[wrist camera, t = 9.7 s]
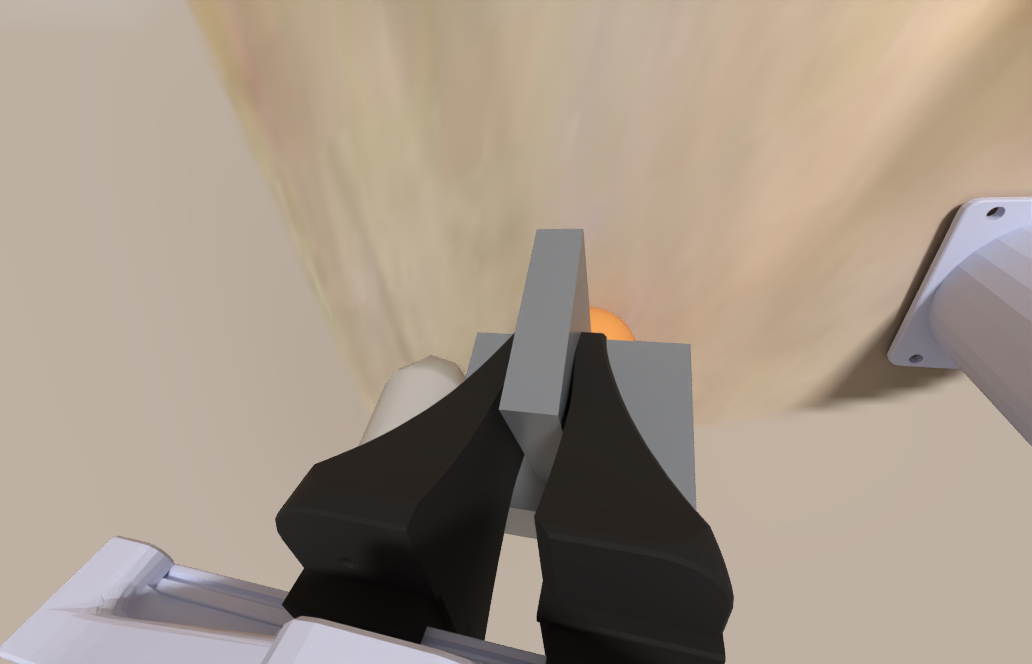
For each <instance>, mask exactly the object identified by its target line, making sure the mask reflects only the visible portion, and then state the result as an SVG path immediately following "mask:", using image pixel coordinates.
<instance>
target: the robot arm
mask: <svg viewBox="0 0 1032 664" xmlns="http://www.w3.org/2000/svg"><path fill="white" fill-rule="evenodd" d="M995 207H998V210H997V211H996V212H995V213H994V214H992V215H991V216H986V215H987V213H988V212H989V211H990V210H991V209H993V208H995ZM514 335H515V333H514V334H513V335H512V336H511V337H510V338H509V339H508V340H507V341H506V342H505V343H504V344H503V345H502V346H501V347H500V348H499V349H498V350H497V351H496V352H495V353H494V354H493V355H492V356H491V357H490V358H489V359H488V360H487V361H486V362H485V363H484V364H483V365H482V366H481V367H479V368H478V369H477V370H476V371H475V372H474V373H473V374H472V375H471V376H469V377H468V378H467V379H466V380H465V381H464V382H462V383H461V384H460V385H459V386H458V387H457V388H455V389H454V390H453V391H452V392H450V393H449V394H448V395H446V396H445V397H444V398H442V399H441V400H439V401H438V402H436V403H435V404H434V405H432V406H431V407H429V408H428V409H426V410H425V411H423V412H421V413H420V414H418V415H416V416H415V417H413V418H411V419H410V420H408V421H406V422H405V423H403V424H401V425H400V426H398V427H396V428H394V429H393V430H391V431H389V432H387V433H385V434H383V435H381V436H379V437H377V438H375V439H373V440H371V441H369V442H367V443H365V444H363V445H360V446H358V447H356V448H354V449H352V450H349V451H346V452H344V453H342V454H339V455H337V456H334V457H332V458H329V459H327V460H325V461H322V462H319V463H317V464H315V465H314V466H313V467H312V468H311V469H310V471H309V472H308V473H307V475H306V476H305V477H304V479H303V480H302V481H301V483H300V484H299V485H298V487H297V488H296V489H295V491H294V492H293V493H292V495H291V496H290V497H289V499H288V500H287V502H286V503H285V504H284V505H283V507H282V508H281V509H280V511H279V512H278V514H277V516H276V518H275V521H276V527H277V531H278V533H279V535H280V536H281V538H282V540H283V541H284V542H285V544H286V545H287V546H288V547H289V549H290V550H291V551H292V553H293V554H294V555H295V557H296V558H297V559H298V561H299V562H300V563H301V564H302V566H303V567H304V570H303V571H302V573H301V574H300V576H299V577H298V579H297V581H296V582H295V584H294V585H293V587H292V589H291V590H290V592H287V591H283V590H279V589H275V588H271V587H267V586H263V585H259V584H255V583H251V582H247V581H243V580H239V579H235V578H231V577H227V576H223V575H219V574H215V573H211V572H207V571H203V570H199V569H195V568H191V567H187V566H183V565H179V564H175V563H174V562H173V560H172V558H171V557H170V556H169V555H167V553H165V552H164V551H163V550H161V549H160V548H158V547H156V546H155V545H152V544H150V543H147V542H143V541H138V540H134V539H130V538H125V537H122V536H116V537H113V538H112V539H111V540H110V541H109V542H107V544H106V545H104V546H103V547H102V549H100V550H99V551H98V552H97V553H96V554H95V555H94V556H93V557H92V558H91V559H90V560H89V561H88V562H87V563H86V564H85V565H84V566H83V567H82V568H81V569H80V570H79V571H78V572H77V573H76V574H74V576H73V577H72V578H70V579H69V580H68V581H67V582H66V583H65V584H64V585H63V586H62V587H61V588H60V589H59V590H58V591H57V592H56V593H55V594H54V595H53V596H52V597H51V598H50V599H49V600H48V601H47V602H46V603H45V604H44V605H43V606H41V607H40V608H39V609H38V611H36V612H35V613H34V614H33V615H32V616H31V617H30V618H29V619H28V620H27V621H26V622H25V623H24V624H23V625H22V626H21V627H20V628H19V629H18V630H17V631H16V632H15V633H14V634H13V635H11V636H10V638H8V639H7V640H6V641H5V642H4V643H3V644H2V645H1V646H0V657H1V658H3V659H6V660H8V661H10V662H12V663H14V664H724V663H725V648H724V641H723V631H724V629H725V626H726V624H727V621H728V619H729V616H730V614H731V612H732V609H733V601H734V596H733V590H732V586H731V582H730V578H729V575H728V571H727V568H726V565H725V562H724V559H723V557H722V554H721V551H720V549H719V546H718V544H717V542H716V539H715V537H714V534H713V532H712V530H711V528H710V526H709V525H708V523H707V522H706V521H705V520H704V519H703V518H702V517H701V516H700V515H699V513H698V512H697V511H696V510H695V509H694V508H693V507H692V505H691V504H690V503H689V502H688V501H687V499H686V498H685V497H684V496H683V495H682V493H681V492H680V491H679V490H678V488H677V487H676V486H675V484H674V483H673V482H672V481H671V479H670V478H669V477H668V475H667V474H666V472H665V471H664V470H663V468H662V467H661V465H660V464H659V462H658V461H657V459H656V458H655V457H654V455H653V454H652V452H651V451H650V449H649V448H648V446H647V444H646V443H645V441H644V439H643V438H642V436H641V434H640V433H639V431H638V429H637V427H636V425H635V424H634V422H633V420H632V418H631V416H630V414H629V412H628V410H627V408H626V406H625V403H624V401H623V399H622V396H621V394H620V392H619V389H618V387H617V384H616V381H615V378H614V375H613V372H612V369H611V365H610V362H609V357H608V352H607V336H605V335H604V334H603V333H593V332H581V335H580V337H579V340H578V343H577V347H576V352H575V364H574V376H573V388H572V396H571V403H570V407H569V411H568V415H567V419H566V423H565V426H564V430H563V433H562V437H561V440H560V444H559V447H558V451H557V454H556V457H555V460H554V463H553V466H552V469H551V472H550V475H549V478H548V481H547V484H546V486H545V489H544V492H543V494H542V497H541V500H540V503H539V505H538V508H537V510H536V513H535V515H534V521H535V528H536V535H537V541H538V548H539V556H540V563H541V570H542V577H543V583H542V589H541V594H540V600H539V605H538V610H537V622H540V626H541V632H542V638H543V643H544V649H545V656H544V655H539V654H536V653H532V652H527V651H523V650H519V649H516V648H512V647H507V646H504V645H500V644H496V643H492V642H488V641H484V640H485V634H486V628H487V622H488V616H489V611H490V605H491V599H492V592H493V588H494V582H495V577H496V572H497V566H498V561H499V556H500V551H501V546H502V541H503V536H504V531H505V526H506V522H507V517H508V513H509V508H510V503H511V499H512V494H513V490H514V487H515V483H516V480H517V476H518V473H519V470H520V467H521V464H522V461H523V458H524V455H525V454H524V452H523V450H522V449H521V447H520V445H519V444H518V442H517V440H516V438H515V437H514V435H513V433H512V431H511V430H510V428H509V426H508V424H507V423H506V421H505V419H504V418H503V416H502V414H501V412H500V411H499V406H500V401H501V396H502V392H503V387H504V382H505V378H506V373H507V368H508V363H509V359H510V354H511V349H512V345H513V340H514ZM917 354H918V355H917ZM913 355H917V356H916V357H914V358H910V357H911V356H913ZM887 357H888V359H889V361H890V362H891V363H892V364H894V365H898V366H912V367H929V368H946V369H961V370H962V371H963V372H964V373H965V374H966V375H967V376H968V377H969V378H970V380H972V382H973V383H974V384H975V385H976V386H977V387H978V388H979V389H980V390H981V391H982V392H983V394H984V395H985V396H986V397H987V398H988V399H989V400H990V401H991V402H992V404H993V405H994V406H995V407H996V408H997V409H998V410H999V411H1000V412H1001V413H1002V414H1003V416H1004V417H1005V418H1006V419H1007V420H1008V421H1009V422H1010V423H1011V424H1012V425H1013V426H1014V428H1015V429H1016V430H1017V431H1018V432H1019V433H1020V434H1021V435H1022V436H1023V437H1024V438H1025V440H1026V441H1027V442H1028V443H1029V444H1030V445H1031V446H1032V197H988V198H975V199H972V200H970V201H967V202H966V203H965V204H963V205H962V206H961V207H960V208H959V210H958V211H957V213H956V215H955V217H954V219H953V221H952V223H951V226H950V228H949V230H948V232H947V234H946V236H945V238H944V240H943V242H942V244H941V246H940V248H939V250H938V252H937V254H936V256H935V258H934V260H933V262H932V264H931V266H930V268H929V270H928V272H927V274H926V276H925V278H924V280H923V282H922V284H921V286H920V288H919V290H918V292H917V294H916V296H915V298H914V300H913V302H912V304H911V306H910V308H909V310H908V312H907V315H906V317H905V319H904V321H903V323H902V325H901V327H900V329H899V331H898V333H897V335H896V337H895V339H894V341H893V343H892V345H891V347H890V349H889V351H888V353H887Z"/></svg>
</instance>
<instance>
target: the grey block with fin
mask: <svg viewBox="0 0 1032 664" xmlns="http://www.w3.org/2000/svg"><path fill="white" fill-rule="evenodd" d="M581 332H591V323H590V310H589V297H588V284H587V271H586V258H585V246H584V233H583V229H540V230H537V231H536V236H535V241H534V245H533V250H532V255H531V259H530V264H529V269H528V274H527V278H526V283H525V288H524V293H523V297H522V302H521V307H520V311H519V316H518V321H517V326H516V330H515V335H514V340H513V345H512V349H511V354H510V359H509V363H508V368H507V373H506V378H505V382H504V387H503V392H502V396H501V401H500V406H499V411H500V412H501V414H502V416H503V418H504V419H505V421H506V423H507V424H508V426H509V428H510V430H511V431H512V433H513V435H514V437H515V438H516V440H517V442H518V444H519V445H520V447H521V449H522V450H523V452H524V454H525V455H524V458H523V461H522V464H521V467H520V470H519V473H518V476H517V480H516V483H515V487H514V490H513V494H512V499H511V503H510V508H509V513H508V517H507V522H506V526H505V531H504V533H507V534H512V535H518V536H523V537H529V538H534V539H537V535H536V528H535V521H534V515H535V513H536V510H537V508H538V505H539V503H540V500H541V497H542V494H543V492H544V489H545V486H546V484H547V481H548V478H549V475H550V472H551V469H552V466H553V463H554V460H555V457H556V454H557V451H558V447H559V444H560V440H561V437H562V433H563V430H564V426H565V423H566V419H567V415H568V411H569V407H570V403H571V396H572V388H573V376H574V364H575V352H576V347H577V343H578V340H579V337H580V335H581ZM512 335H513V334H497V333H479V332H478V333H477V337H476V340H475V344H474V348H473V352H472V356H471V359H470V363H469V367H468V371H467V374H466V378H465V380H466V379H467V378H468V377H469V376H471V375H472V374H473V373H474V372H475V371H476V370H477V369H478V368H479V367H481V366H482V365H483V364H484V363H485V362H486V361H487V360H488V359H489V358H490V357H491V356H492V355H493V354H494V353H495V352H496V351H497V350H498V349H499V348H500V347H501V346H502V345H503V344H504V343H505V342H506V341H507V340H508V339H509V338H510V337H511V336H512ZM607 352H608V357H609V362H610V365H611V369H612V372H613V375H614V378H615V381H616V384H617V387H618V389H619V392H620V394H621V396H622V399H623V401H624V403H625V406H626V408H627V410H628V412H629V414H630V416H631V418H632V420H633V422H634V424H635V425H636V427H637V429H638V431H639V433H640V434H641V436H642V438H643V439H644V441H645V443H646V444H647V446H648V448H649V449H650V451H651V452H652V454H653V455H654V457H655V458H656V459H657V461H658V462H659V464H660V465H661V467H662V468H663V470H664V471H665V472H666V474H667V475H668V477H669V478H670V479H671V481H672V482H673V483H674V484H675V486H676V487H677V488H678V490H679V491H680V492H681V493H682V495H683V496H684V497H685V498H686V499H687V501H688V502H689V503H690V504H691V505H692V507H693V508H694V509H695V510H696V486H695V458H694V430H693V401H692V373H691V344H678V343H660V342H642V341H624V340H607Z"/></svg>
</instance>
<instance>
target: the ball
mask: <svg viewBox="0 0 1032 664" xmlns="http://www.w3.org/2000/svg"><path fill="white" fill-rule="evenodd" d="M589 310H590V323H591V332H593V333H603V334H604V335H605V336H607V340H624V341H635V338H634V336H633V334H632V332H631V331H630V329H629V328H628V326H627V325H626V324H625V323H624V322H623V321H622V320H621V319H620V318H619V317H617V316H616V315H614V314H613V313H611V312H609V311H606V310H603V309H599V308H593V307H589Z"/></svg>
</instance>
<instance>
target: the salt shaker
mask: <svg viewBox="0 0 1032 664" xmlns="http://www.w3.org/2000/svg"><path fill="white" fill-rule="evenodd" d="M465 378H466V377H465V376H464V374H463V373H462V371H461V370H460V368H459V367H458V365H457V364H456V363H453V362H450V361H447V360H444V359H441V358H438V357H435V356H432V355H430V356H428V357H427V358H425V359H423V360H421V361H419V362H416V363H413V364H411V365H408V366H405V367H403V368H400V369H399V370H398V371H397V372H396V373H395V374H394V375H393V376H392V377H391V378H390V379H389V381H388V382H387V383H386V384H385V387H384V389H383V391H382V394H381V396H380V398H379V400H378V403H377V405H376V407H375V409H374V412H373V414H372V416H371V419H370V421H369V423H368V425H367V428H366V430H365V432H364V435H363V437H362V439H361V442H360V444H359V446H360V445H363V444H365V443H367V442H369V441H371V440H373V439H375V438H377V437H379V436H381V435H383V434H385V433H387V432H389V431H391V430H393V429H394V428H396V427H398V426H400V425H401V424H403V423H405V422H406V421H408V420H410V419H411V418H413V417H415V416H416V415H418V414H420V413H421V412H423V411H425V410H426V409H428V408H429V407H431V406H432V405H434V404H435V403H436V402H438V401H439V400H441V399H442V398H444V397H445V396H446V395H448V394H449V393H450V392H452V391H453V390H454V389H455V388H457V387H458V386H459V385H460V384H461V383H462V382H464V381H465Z"/></svg>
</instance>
